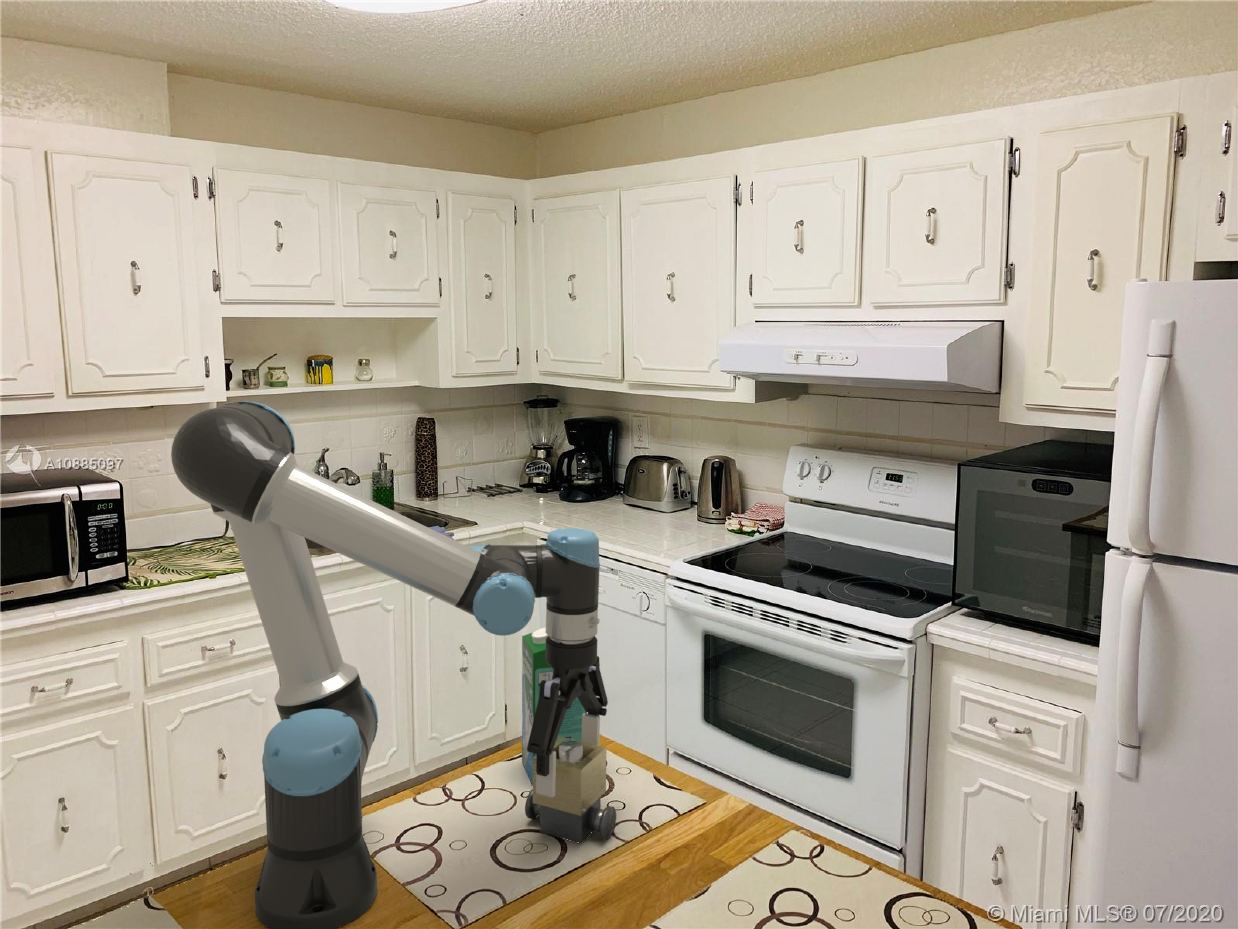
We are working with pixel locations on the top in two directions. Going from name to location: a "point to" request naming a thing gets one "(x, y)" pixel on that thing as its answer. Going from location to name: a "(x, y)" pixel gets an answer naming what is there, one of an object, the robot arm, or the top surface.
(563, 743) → the valve
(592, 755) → the collar
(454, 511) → the top surface
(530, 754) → the milk carton
